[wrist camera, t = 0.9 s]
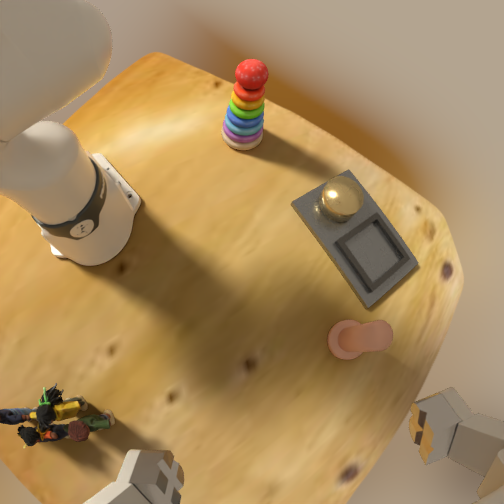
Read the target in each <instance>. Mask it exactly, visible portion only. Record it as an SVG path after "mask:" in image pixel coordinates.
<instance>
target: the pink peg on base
mask: <svg viewBox="0 0 504 504" xmlns="http://www.w3.org/2000/svg"><path fill="white" fill-rule="evenodd" d="M392 340H393V331H392V328H391V326H390V325H389V324H388V323H387V322H386V321H383V320H377V321H373V322H368V323H364V324H360V323H359V322H357V321H355V320H344V321H340V322H338V323H336V324H335V325H334V326H333V327H332V328H331V329H330V331H329V334H328V338H327V343H328V348H329V350H330V351H331V353H332V354H333V355H334V356H335V357H337V358H339V359H347V360H349V359H354V358H357V357H358V356H360V355H361V354H362V353H363V352H368V351H383V350H385V349H387V348H388V347H389V346H390V344H391V342H392Z"/></svg>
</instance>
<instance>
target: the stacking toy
mask: <svg viewBox="0 0 504 504" xmlns="http://www.w3.org/2000/svg"><path fill="white" fill-rule="evenodd" d="M235 76H236V79H237V82H236V83H235V84H234V91H233V92H232V95H231V100H230V104H229V106H228V108H227V113H226V116H225V120H224V122H223V127H222V131H221V134H222V138H223V140H224V141H225V143H226V144H227V145H229V146H230V147H232V148H234V149H238V150H249V149H252V148H254V147H256V146H257V145H258V144H259V143H260V142H261V140H262V138H263V123H264V119H263V116H264V111H263V110H264V93H265V87H264V84H265V83H266V81H267V79H268V69H267V67H266V66H265V65H264V64H263V63H262V62H261V61H259V60H256V59H248V60H245V61H243V62H241V64H239V65H238V67H237V69H236V74H235Z"/></svg>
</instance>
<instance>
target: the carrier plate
mask: <svg viewBox="0 0 504 504" xmlns="http://www.w3.org/2000/svg"><path fill="white" fill-rule="evenodd" d="M291 206H292V207H293V209H294V210H295V211H296V213H297V214H298V215H299V216H300V218H301V219H302V220H303V222H304V223H305V225H306V226H307V227H308V229H309V230H310V231H311V233H312V234H313V235H314V237H315V238H316V239H317V241H318V242H319V244H320V245H321V246H322V248H323V249H324V250H325V252H326V253H327V255H328V256H329V257H330V259H331V260H332V262H333V263H334V264H335V266H336V267H337V269H338V270H339V271H340V273H341V274H342V276H343V277H344V279H345V280H346V281H347V283H348V284H349V286H350V287H351V289H352V290H353V291H354V293H355V294H356V296H357V297H358V299H359V300H360V302H361V303H362V305H363V306H364V308H365V309H367V308H369V307H370V306H371V305H372V304H374V303H375V302H376V301H377V300H378V299H379V298H381V297H382V296H383V295H384V294H385V293H386V292H387V291H389V290H390V289H391V288H392V287H393V286H394V285H395V284H396V283H398V282H399V281H400V280H401V279H402V278H403V277H404V276H405V275H406V274H407V273H408V272H410V271H411V270H412V269H413V268H414V267H415V266H416V265H417V264H418V261H417V260H416V258H415V257H414V255H413V254H412V252H411V251H410V249H409V248H408V247H407V245H406V244H405V242H404V241H403V239H402V238H401V237H400V235H399V234H398V232H397V231H396V230H395V228H394V227H393V225H392V224H391V223H390V221H389V220H388V219H387V217H386V216H385V215H384V213H383V212H382V211H381V209H380V208H379V207H378V205H377V204H376V203H375V201H374V200H373V199H372V198H371V196H370V195H369V194H368V192H367V191H366V190H365V189H364V187H363V186H362V185H361V184H360V182H359V181H358V180H357V179H356V178H355V176H354V175H353V174H352V173H351V171H350V170H347V171H345V172H343V173H341V174H340V175H338V176H336V177H333V178H331V179H330V180H329V181H327V182H326V183H324V184H322V185H320V186H319V187H317V188H315V189H313V190H312V191H310V192H308V193H306V194H305V195H303V196H301V197H299V198H298V199H296V200H294V201H292V203H291Z"/></svg>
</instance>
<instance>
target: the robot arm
mask: <svg viewBox="0 0 504 504" xmlns="http://www.w3.org/2000/svg"><path fill="white" fill-rule="evenodd" d="M111 54H112V34H111V30H110V26H109V24H108V22H107V20H106V18H105V17H104V15H103V14H102V13H101V12H100V11H99V10H98V9H97V8H96V7H95V6H94V5H92V4H91V3H89V2H87V1H85V0H0V195H3V196H5V197H7V198H9V199H11V200H13V201H14V202H16V203H17V204H18V205H20V206H21V207H22V208H24V209H25V210H26V211H28V212H29V213H30V214H31V216H32V218H33V219H34V220H35V221H36V223H37V224H38V225H39V226H40V227H41V229H42V232H41V234H42V236H43V237H44V238H45V239H46V240H47V241H48V242H49V243H50V245H51V251H52V254H53V255H54V256H56V257H59V258H69V259H71V260H73V261H75V262H76V263H79V264H81V265H86V266H93V265H99V264H102V263H105V262H107V261H109V260H110V259H112V258H113V257H115V256H116V255H117V254H118V253H119V252H120V251H121V250H122V248H123V247H124V246H125V244H126V243H127V241H128V239H129V237H130V234H131V231H132V226H133V219H134V215H135V213H136V212H137V210H138V208H139V206H140V204H141V199H140V197H139V196H138V195H137V193H136V192H135V191H134V190H133V189H132V188H131V187H130V186H129V184H128V183H127V182H126V181H125V180H124V179H123V178H122V177H121V175H120V174H119V173H118V172H117V171H116V170H115V169H114V168H113V166H112V165H111V164H110V163H109V162H108V161H107V159H106V158H105V157H104V156H103V155H102V154H100V153H96V154H91V153H90V152H88V151H85V150H84V148H83V147H82V145H81V143H80V141H79V140H78V138H77V136H76V135H75V133H74V132H73V131H72V130H70V129H69V128H68V127H66V126H64V125H62V124H60V123H57V122H51V121H41V120H43V119H44V118H46V117H48V116H49V115H51V114H53V113H55V112H56V111H58V110H60V109H62V108H64V107H65V106H66V105H68V104H69V103H70V102H72V101H73V100H74V99H76V98H77V97H79V96H80V95H81V94H83V93H84V92H85V91H87V90H88V89H89V88H91V87H92V86H93V85H95V84H96V83H98V82H99V81H100V80H101V79H102V78H103V77H104V75H105V73H106V71H107V68H108V66H109V62H110V58H111ZM39 121H41V122H39ZM129 196H132V197H131V198H129ZM411 412H412V414H413V416H412V417H411V418H410V420H409V429H410V434H411V437H412V439H413V441H414V443H416V444H418V445H420V449H419V453H420V455H421V457H422V459H423V461H424V463H425V465H427V464H430V463H432V462H435V461H437V460H440V459H442V458H444V457H447V456H448V458H450V459H452V460H454V461H455V462H457V463H459V464H461V465H463V466H465V467H466V468H469V469H470V470H472V471H474V472H476V473H478V474H480V475H481V476H484V477H485V478H484V479H483V481H482V483H481V484H480V486H479V488H478V490H477V494H478V496H479V497H480V500H478V501H476V502H474V503H473V504H504V421H501V420H498V419H495V418H491V417H488V416H485V415H482V414H479V413H478V414H476V415H474V413H473V412H472V410H471V409H470V408H469V407H468V405H467V404H466V403H465V402H464V400H463V399H462V398H461V397H460V395H459V394H458V393H457V391H456V390H455V389H454V388H453V387H450V388H447V389H445V390H443V391H441V392H439V393H435V394H433V395H431V396H428V397H426V398H424V399H421V400H418V401H416V402H413V403H412V405H411ZM173 459H174V455H173V454H172V452H171V451H169V450H134V449H130V450H129V451H128V452H127V454H126V457H125V459H124V462H123V464H122V467H121V470H120V472H119V475H118V477H117V480H116V482H111V483H110V484H109V485H107V486H106V487H105V488H104V489H102V490H101V491H100V492H98V493H97V494H96V495H94V496H93V497H91V498H90V499H89V500H87V501H86V502H85V503H83V504H180V500H181V495H180V493H179V492H178V491H179V490H180V489H181V488H182V487H183V484H184V472H183V470H182V467H181V466H180V464H179V463H177V462H176V461H174V460H173Z"/></svg>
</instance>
